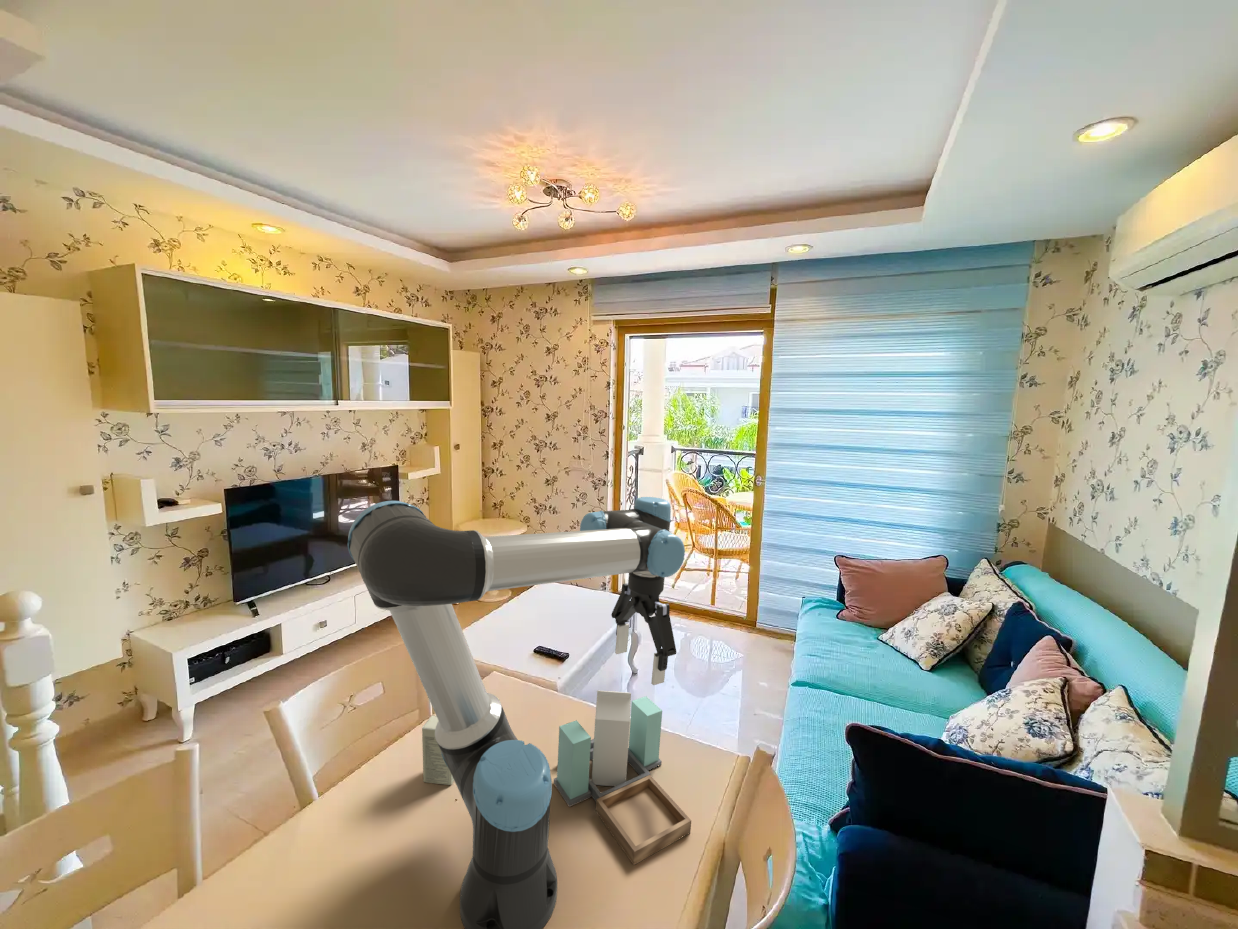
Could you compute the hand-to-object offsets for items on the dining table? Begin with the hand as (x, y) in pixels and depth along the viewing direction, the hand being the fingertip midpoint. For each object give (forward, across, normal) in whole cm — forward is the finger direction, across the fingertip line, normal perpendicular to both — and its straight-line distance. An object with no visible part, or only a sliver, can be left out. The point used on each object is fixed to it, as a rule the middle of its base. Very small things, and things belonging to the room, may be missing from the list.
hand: (638, 667), depth 107 cm
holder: (+23, 0, +5) cm, 24 cm away
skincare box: (+24, +17, +36) cm, 47 cm away
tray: (+23, -13, +6) cm, 27 cm away
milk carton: (+24, 0, +5) cm, 24 cm away
